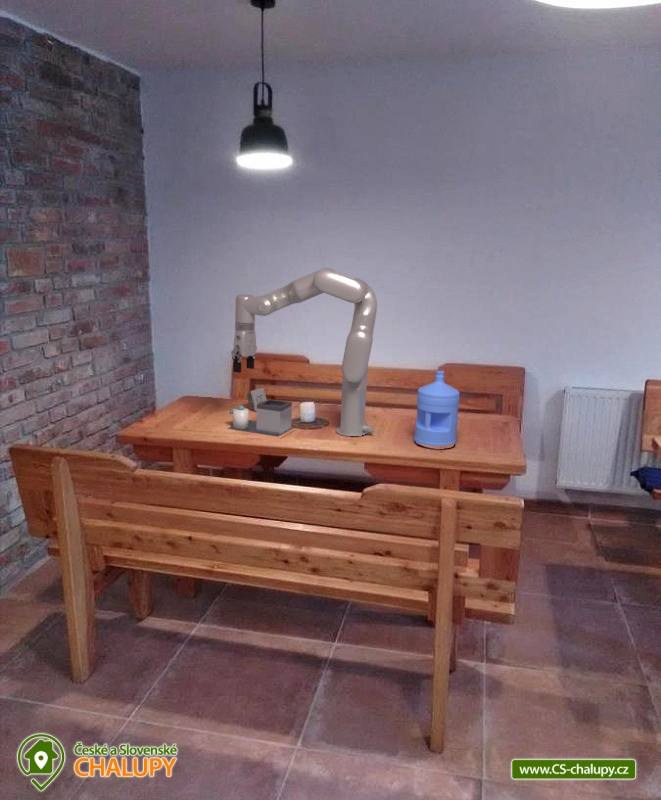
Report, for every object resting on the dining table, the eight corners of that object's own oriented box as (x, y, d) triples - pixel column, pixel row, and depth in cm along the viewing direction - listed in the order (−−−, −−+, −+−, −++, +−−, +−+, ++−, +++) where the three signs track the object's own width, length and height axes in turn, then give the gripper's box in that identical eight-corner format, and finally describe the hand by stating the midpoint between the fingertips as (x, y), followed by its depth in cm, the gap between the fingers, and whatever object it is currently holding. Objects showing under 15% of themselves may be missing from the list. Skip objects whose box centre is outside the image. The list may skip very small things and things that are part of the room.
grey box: (296, 429, 259) (297, 400, 256) (278, 440, 244) (278, 409, 241) (247, 422, 266) (248, 393, 264) (227, 432, 252) (227, 402, 249)
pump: (251, 426, 256) (251, 405, 254) (243, 429, 250) (243, 408, 248) (234, 423, 258) (234, 402, 256) (226, 427, 253) (226, 406, 251)
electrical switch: (256, 412, 283) (255, 391, 281) (246, 411, 285) (245, 390, 284) (268, 408, 291) (267, 387, 289) (258, 407, 293) (257, 387, 292)
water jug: (427, 435, 257) (432, 366, 251) (463, 444, 248) (469, 372, 241) (405, 443, 246) (410, 371, 239) (442, 453, 236) (448, 377, 229)
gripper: (241, 330, 243) (240, 375, 247) (264, 325, 258) (263, 368, 262) (224, 328, 245) (223, 372, 249) (248, 324, 261) (246, 365, 265)
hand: (243, 370), depth 256 cm, fingers open, 9 cm apart
